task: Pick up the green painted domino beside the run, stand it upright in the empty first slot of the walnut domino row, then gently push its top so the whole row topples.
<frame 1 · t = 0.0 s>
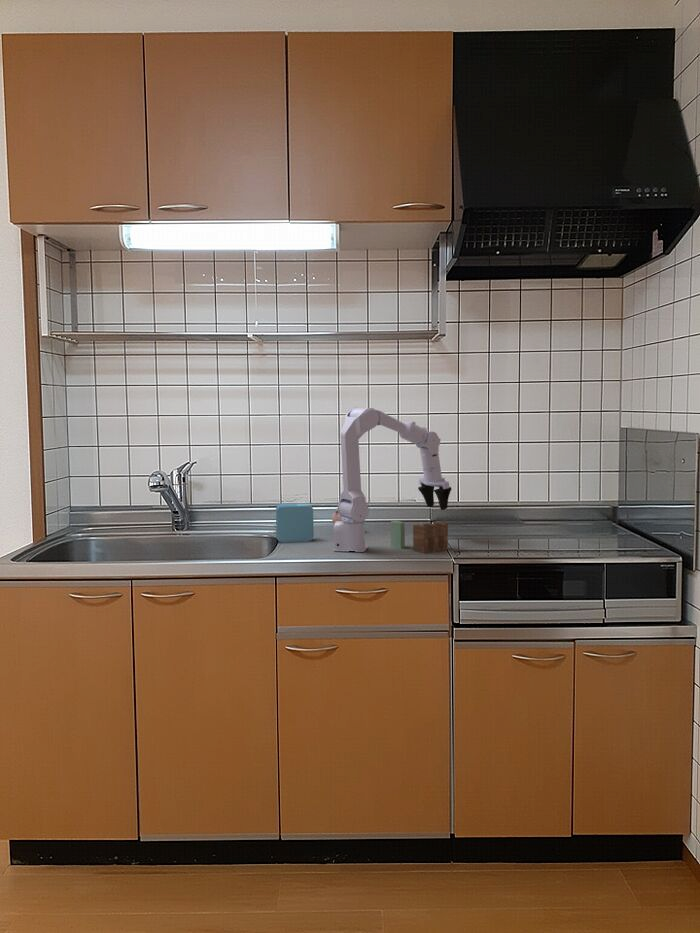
hand: (437, 507, 260), 11 cm above the counter, tool pointing down, fingers open, 7 cm apart
green domino: (397, 547, 250), on the counter
walnut domino 3: (430, 550, 244), on the counter
walnut domino 4: (440, 548, 246), on the counter
walnut domino 2: (420, 551, 242), on the counter
blue square slab: (295, 541, 262), on the counter
decorative fruit: (346, 533, 275), on the counter
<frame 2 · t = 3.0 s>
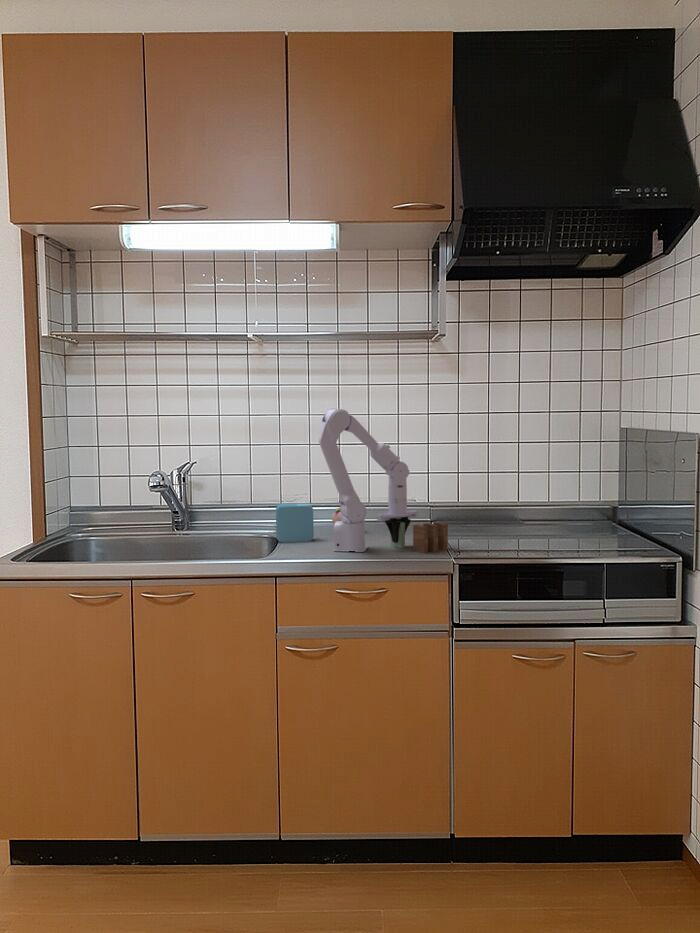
hand: (397, 541, 250), 2 cm above the counter, tool pointing down, fingers closed on green domino, 1 cm apart
green domino: (397, 546, 250), on the counter, touching gripper
everything else where it was.
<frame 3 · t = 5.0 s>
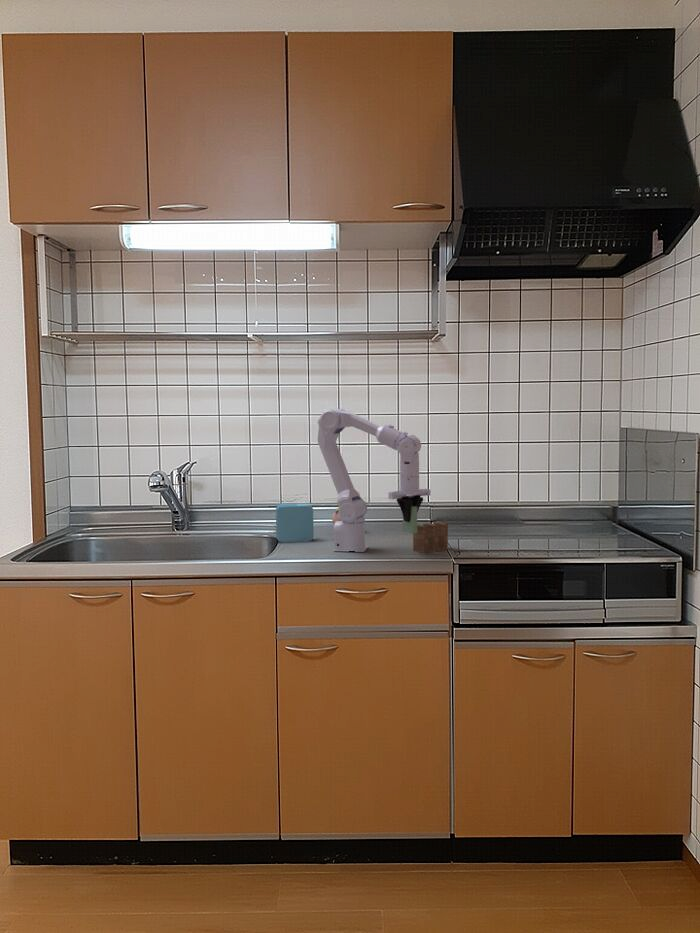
hand: (409, 521, 239), 10 cm above the counter, tool pointing down, fingers closed on green domino
green domino: (410, 532, 239), point 6 cm above the counter, touching gripper
everything else where it was.
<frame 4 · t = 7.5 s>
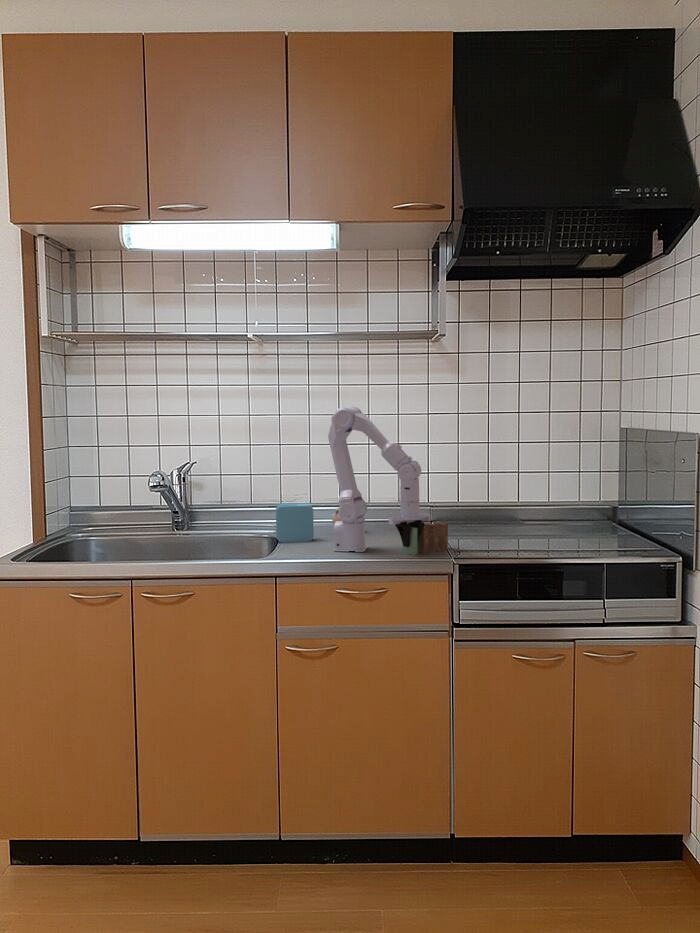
hand: (409, 546, 240), 2 cm above the counter, tool pointing down, fingers closed
green domino: (410, 553, 240), on the counter
walnut domino 2: (420, 551, 242), on the counter, touching gripper
everything else where it was.
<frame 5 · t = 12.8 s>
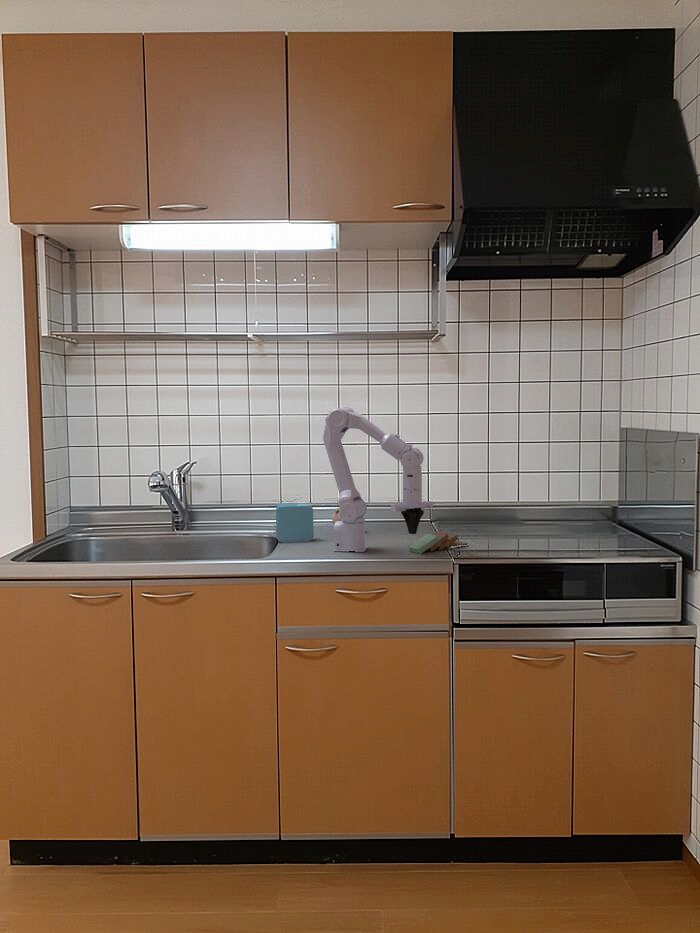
hand: (412, 533, 240), 6 cm above the counter, tool pointing down, fingers closed
green domino: (414, 550, 241), point 1 cm above the counter, tilted 67°, touching walnut domino 2
walnut domino 3: (434, 546, 245), point 1 cm above the counter, tilted 72°, touching walnut domino 2, walnut domino 4
walnut domino 4: (443, 547, 247), on the counter, tilted 90°, touching walnut domino 3
walnut domino 2: (425, 548, 243), point 1 cm above the counter, tilted 66°, touching green domino, walnut domino 3
everything else where it was.
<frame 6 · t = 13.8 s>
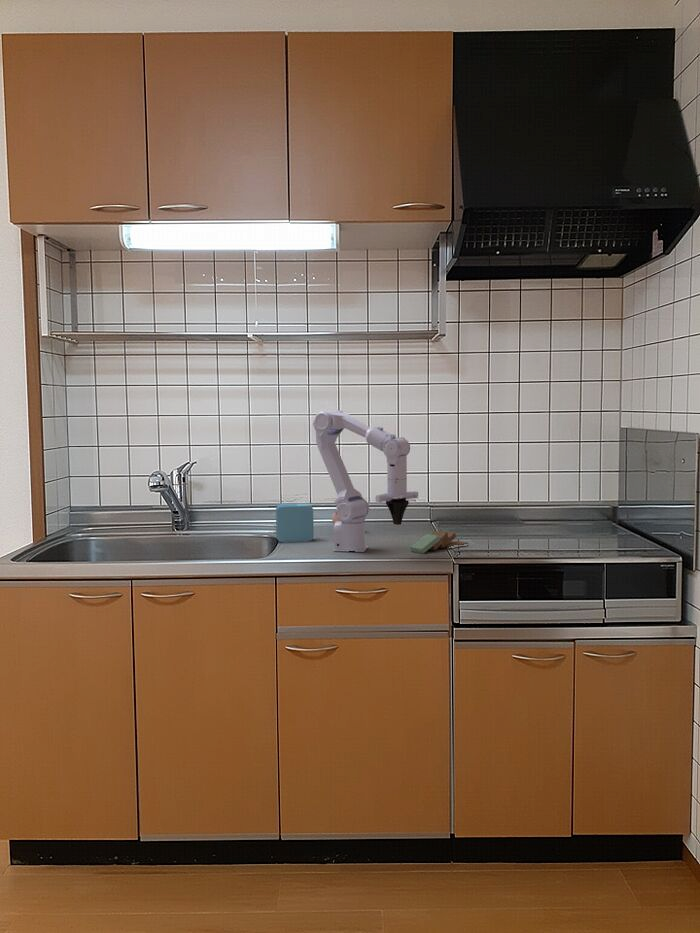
hand: (397, 524, 236), 9 cm above the counter, tool pointing down, fingers closed
walnut domino 3: (435, 545, 246), point 1 cm above the counter, tilted 73°, touching walnut domino 2, walnut domino 4
walnut domino 2: (428, 547, 243), point 1 cm above the counter, tilted 67°, touching green domino, walnut domino 3
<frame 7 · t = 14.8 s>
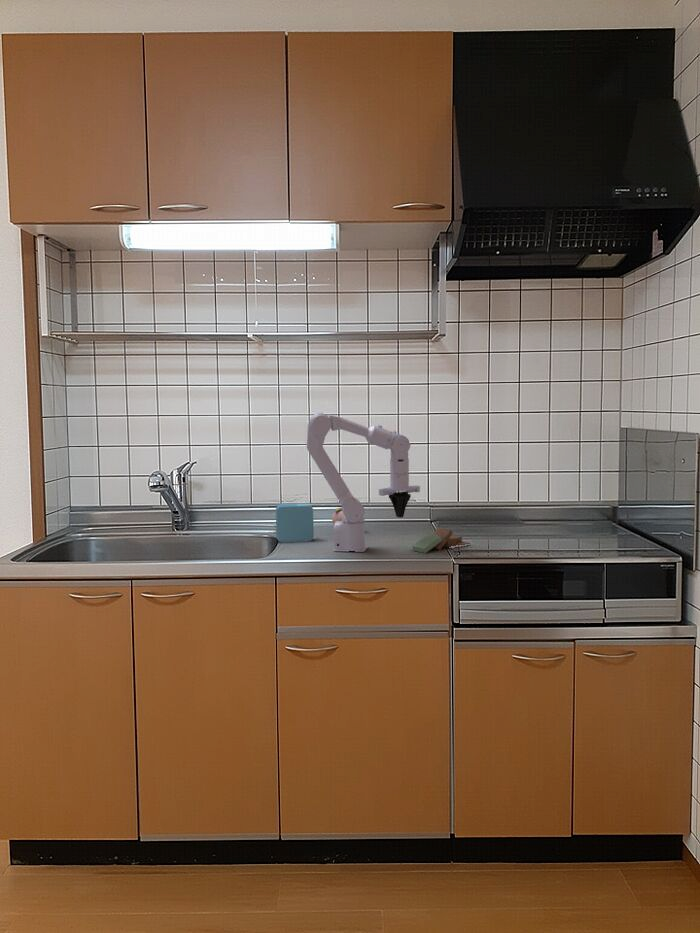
hand: (399, 516, 247), 10 cm above the counter, tool pointing down, fingers closed
walnut domino 3: (441, 542, 248), point 2 cm above the counter, tilted 89°, touching walnut domino 2
walnut domino 4: (445, 547, 248), on the counter, tilted 90°
walnut domino 2: (432, 547, 245), point 1 cm above the counter, tilted 57°, touching green domino, walnut domino 3
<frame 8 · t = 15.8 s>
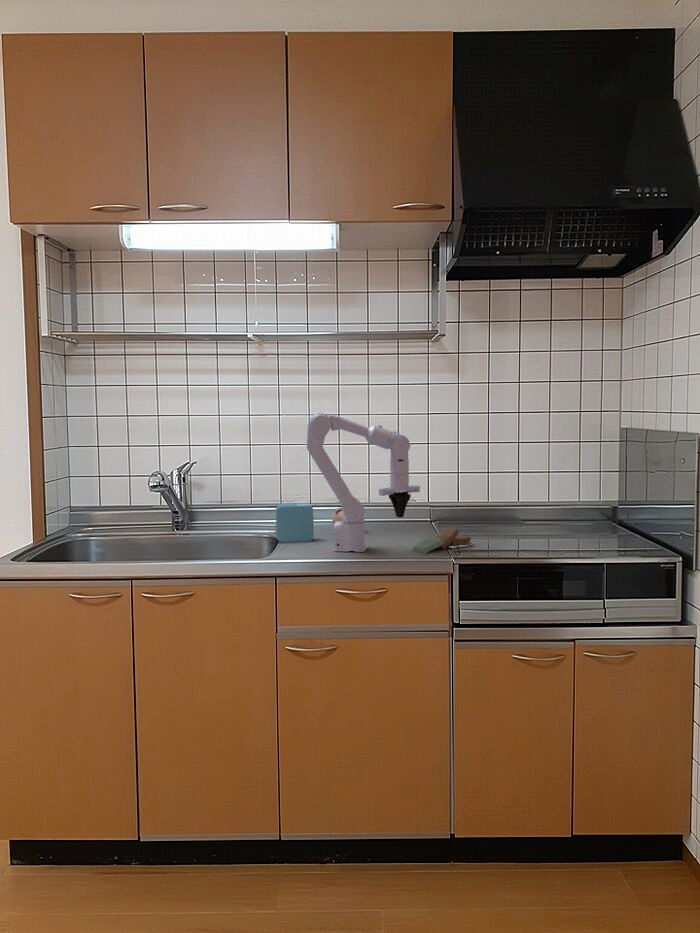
hand: (399, 516, 247), 10 cm above the counter, tool pointing down, fingers closed
green domino: (419, 549, 241), point 1 cm above the counter, tilted 77°, touching walnut domino 2
walnut domino 3: (447, 541, 248), point 2 cm above the counter, tilted 90°, touching walnut domino 2, walnut domino 4
walnut domino 4: (446, 547, 248), on the counter, tilted 90°, touching walnut domino 3
walnut domino 2: (437, 546, 246), point 1 cm above the counter, tilted 56°, touching green domino, walnut domino 3
everything else where it was.
at the end: walnut domino 4 tilted 90°; green domino tilted 78°; green domino inside the target area (2.6 cm from its centre), point 0.8 cm above the counter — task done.
